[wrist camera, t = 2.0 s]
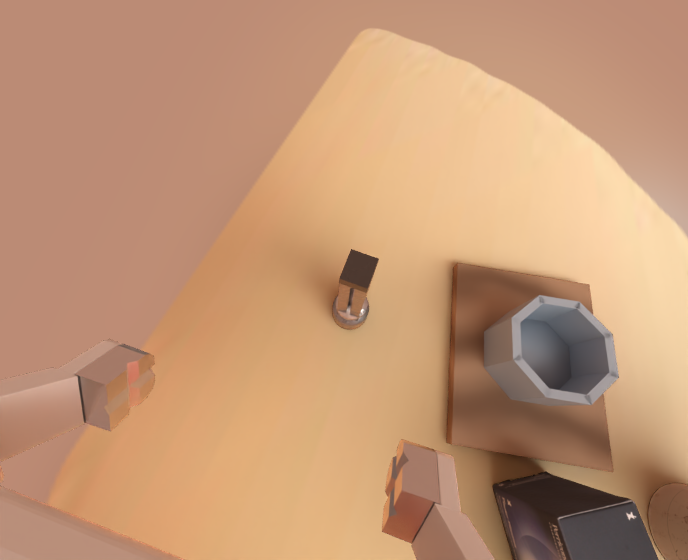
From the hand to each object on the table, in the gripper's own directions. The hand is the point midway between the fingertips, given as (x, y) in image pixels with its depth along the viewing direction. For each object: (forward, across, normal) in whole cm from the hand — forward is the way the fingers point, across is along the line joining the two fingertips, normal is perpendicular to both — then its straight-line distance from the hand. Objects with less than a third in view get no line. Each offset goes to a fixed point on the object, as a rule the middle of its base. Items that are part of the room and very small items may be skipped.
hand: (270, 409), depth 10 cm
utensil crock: (+26, -20, +10) cm, 34 cm away
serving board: (+27, -20, +10) cm, 36 cm away
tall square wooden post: (+26, 0, +11) cm, 28 cm away
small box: (+16, -24, +22) cm, 36 cm away
